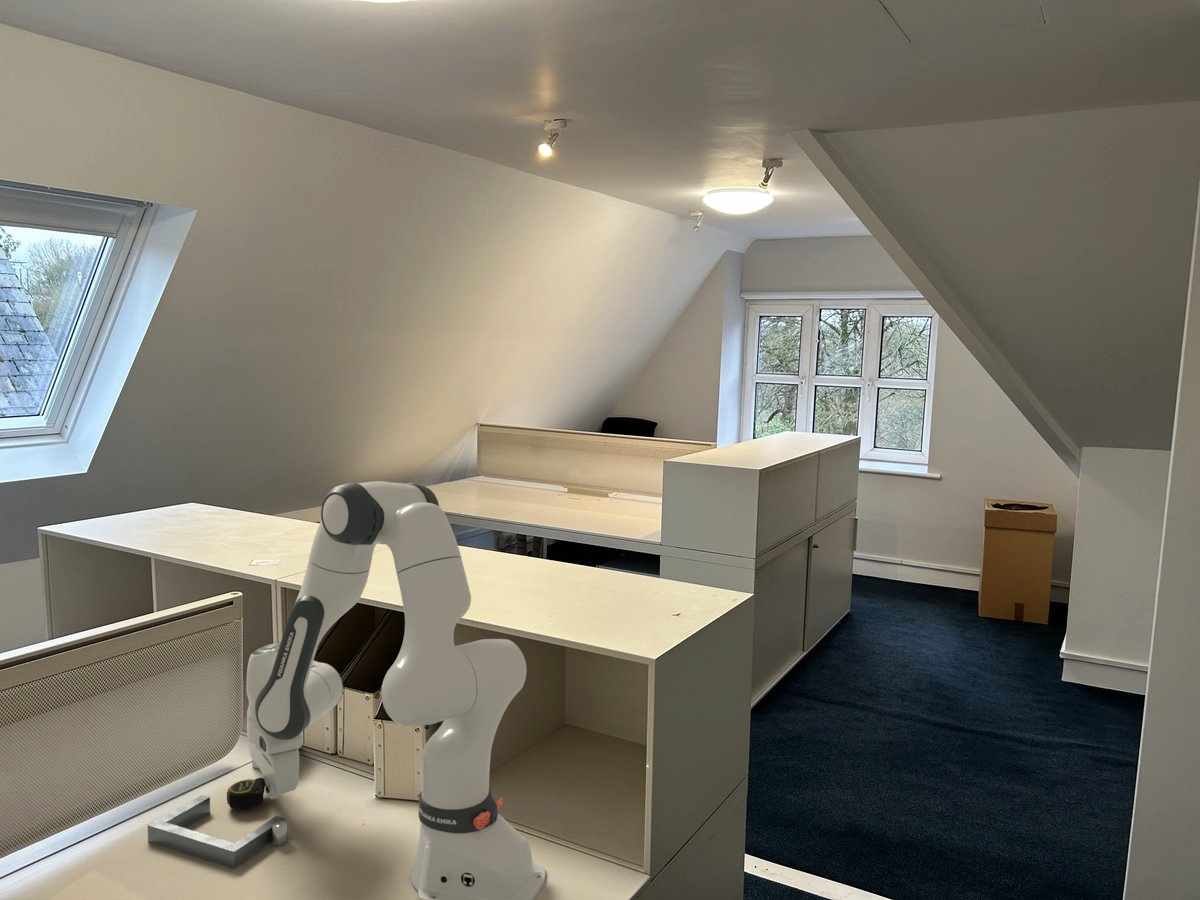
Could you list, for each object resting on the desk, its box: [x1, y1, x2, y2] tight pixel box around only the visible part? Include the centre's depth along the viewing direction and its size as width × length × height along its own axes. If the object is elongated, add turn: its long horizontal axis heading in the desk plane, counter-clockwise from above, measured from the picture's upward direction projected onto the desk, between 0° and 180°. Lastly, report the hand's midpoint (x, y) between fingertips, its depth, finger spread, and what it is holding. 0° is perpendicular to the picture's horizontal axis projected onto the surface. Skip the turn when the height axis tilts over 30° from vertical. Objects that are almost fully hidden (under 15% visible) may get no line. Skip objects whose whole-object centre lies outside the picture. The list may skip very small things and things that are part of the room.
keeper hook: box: [147, 794, 288, 869], centre depth 154 cm, size 23×12×4 cm, turn 68°
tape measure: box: [226, 777, 266, 810], centre depth 166 cm, size 7×7×4 cm
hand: (272, 795), depth 167 cm, fingers closed
